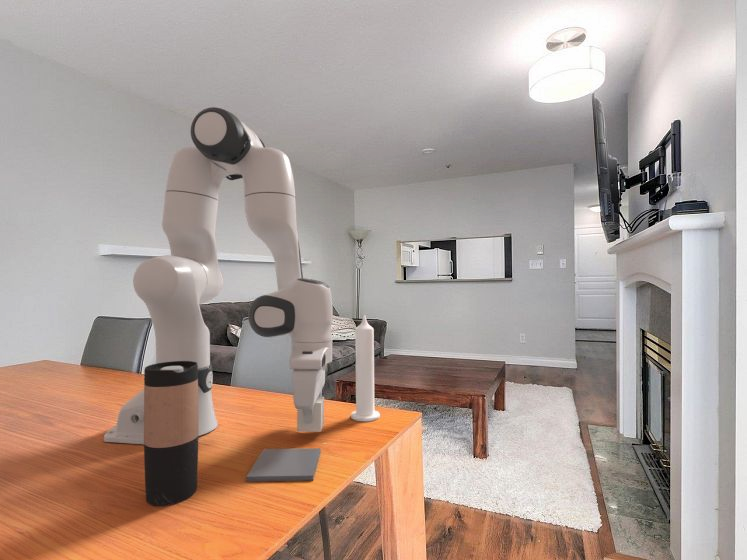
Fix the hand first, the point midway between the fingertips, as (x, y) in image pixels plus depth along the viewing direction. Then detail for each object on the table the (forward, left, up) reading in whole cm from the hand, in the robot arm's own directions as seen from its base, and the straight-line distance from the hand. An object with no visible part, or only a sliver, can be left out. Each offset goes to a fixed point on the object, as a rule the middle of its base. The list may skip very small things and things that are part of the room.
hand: (311, 417), depth 86 cm
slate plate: (-2, -15, -4) cm, 15 cm away
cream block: (0, 0, -2) cm, 2 cm away
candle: (+12, +11, -4) cm, 17 cm away
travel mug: (-18, -24, -4) cm, 30 cm away
